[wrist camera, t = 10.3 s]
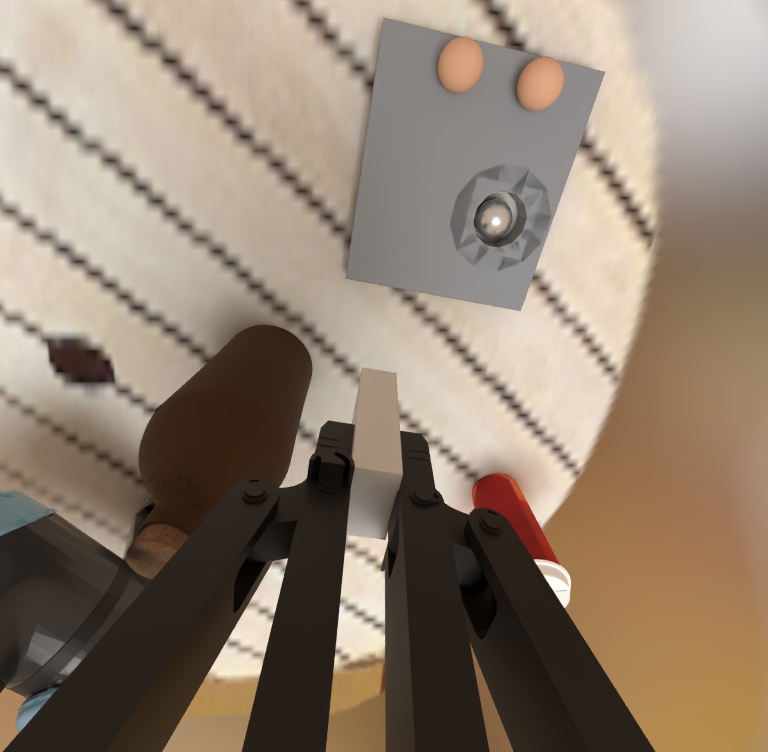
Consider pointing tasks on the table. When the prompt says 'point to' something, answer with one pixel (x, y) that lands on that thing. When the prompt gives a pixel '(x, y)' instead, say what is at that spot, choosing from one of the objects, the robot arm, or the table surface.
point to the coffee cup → (523, 527)
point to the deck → (460, 170)
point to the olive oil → (219, 437)
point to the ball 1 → (460, 64)
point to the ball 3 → (540, 83)
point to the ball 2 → (493, 218)
